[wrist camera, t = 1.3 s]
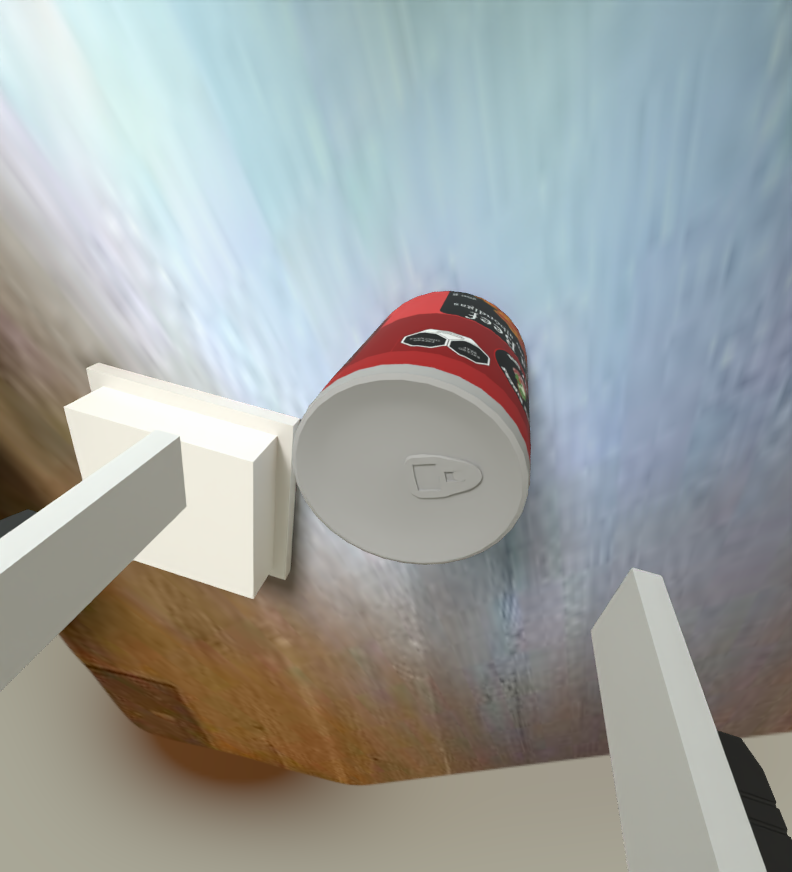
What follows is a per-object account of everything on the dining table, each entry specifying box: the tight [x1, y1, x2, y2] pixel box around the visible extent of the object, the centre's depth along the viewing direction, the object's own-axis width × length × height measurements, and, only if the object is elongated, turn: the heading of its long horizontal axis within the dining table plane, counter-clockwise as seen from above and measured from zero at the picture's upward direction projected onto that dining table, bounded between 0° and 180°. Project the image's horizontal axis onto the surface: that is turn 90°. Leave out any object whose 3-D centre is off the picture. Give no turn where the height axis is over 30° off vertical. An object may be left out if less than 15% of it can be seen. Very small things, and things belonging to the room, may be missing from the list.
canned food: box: [292, 291, 531, 565], centre depth 19 cm, size 8×8×11 cm
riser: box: [64, 363, 300, 599], centre depth 31 cm, size 14×14×4 cm
